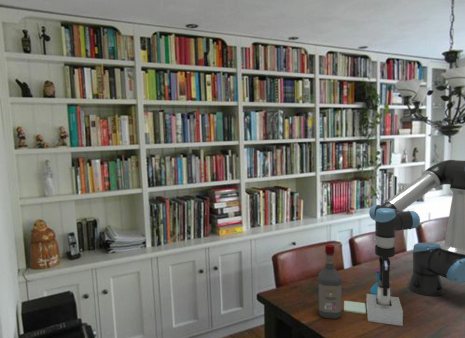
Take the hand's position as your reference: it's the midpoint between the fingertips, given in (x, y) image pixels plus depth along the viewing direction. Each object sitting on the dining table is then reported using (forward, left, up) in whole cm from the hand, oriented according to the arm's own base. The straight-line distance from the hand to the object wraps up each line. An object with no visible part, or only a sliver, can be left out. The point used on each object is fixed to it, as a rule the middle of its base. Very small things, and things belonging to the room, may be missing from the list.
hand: (383, 299), depth 148 cm
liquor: (+22, +4, -7) cm, 24 cm away
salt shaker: (0, 0, -5) cm, 5 cm away
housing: (0, 0, -7) cm, 7 cm away
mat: (+12, -4, -7) cm, 14 cm away
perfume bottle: (0, -14, -7) cm, 16 cm away
